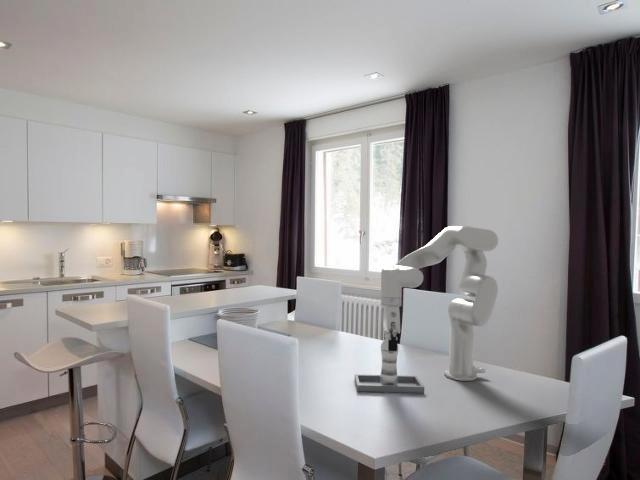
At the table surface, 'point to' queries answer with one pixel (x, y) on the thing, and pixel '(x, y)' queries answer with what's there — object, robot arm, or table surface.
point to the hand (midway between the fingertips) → (390, 347)
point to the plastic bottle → (388, 364)
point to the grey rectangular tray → (374, 386)
